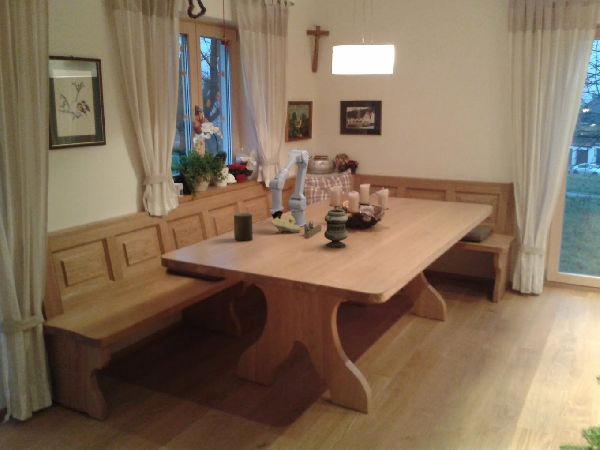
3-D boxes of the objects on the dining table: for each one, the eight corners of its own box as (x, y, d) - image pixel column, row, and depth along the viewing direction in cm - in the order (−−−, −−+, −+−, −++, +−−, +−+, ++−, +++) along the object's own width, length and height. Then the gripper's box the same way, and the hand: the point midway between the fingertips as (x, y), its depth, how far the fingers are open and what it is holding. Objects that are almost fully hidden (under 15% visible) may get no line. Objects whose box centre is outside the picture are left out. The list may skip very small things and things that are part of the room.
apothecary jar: (328, 249, 283) (328, 213, 279) (321, 243, 294) (321, 209, 290) (351, 247, 286) (351, 212, 282) (343, 241, 297) (343, 207, 293)
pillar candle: (249, 242, 298) (249, 213, 295) (231, 241, 300) (231, 213, 297) (254, 238, 307) (254, 210, 304) (237, 237, 309) (236, 209, 306)
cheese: (299, 232, 326) (280, 215, 327) (305, 225, 321) (285, 207, 322) (286, 246, 315) (265, 228, 316) (291, 238, 310) (271, 220, 311)
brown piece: (313, 229, 325) (313, 219, 323) (321, 230, 323) (321, 220, 322) (300, 237, 307) (300, 226, 305) (308, 238, 305) (308, 227, 304)
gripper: (275, 198, 326) (275, 221, 329) (264, 202, 313) (265, 226, 316) (286, 198, 324) (287, 222, 327) (276, 203, 311) (276, 227, 314)
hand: (277, 224), depth 321 cm, fingers closed
